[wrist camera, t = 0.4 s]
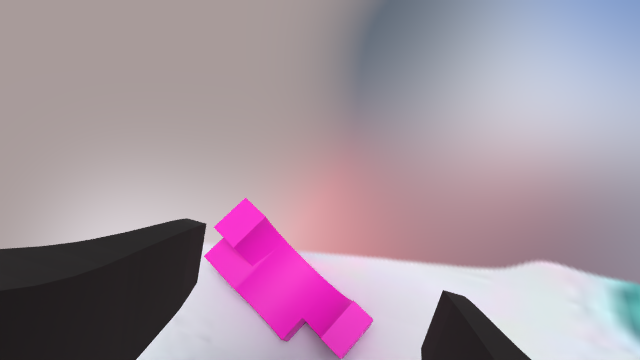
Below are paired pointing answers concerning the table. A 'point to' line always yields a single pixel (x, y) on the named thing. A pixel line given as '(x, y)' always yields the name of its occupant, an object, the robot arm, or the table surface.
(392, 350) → the table surface
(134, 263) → the robot arm
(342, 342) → the toy block
